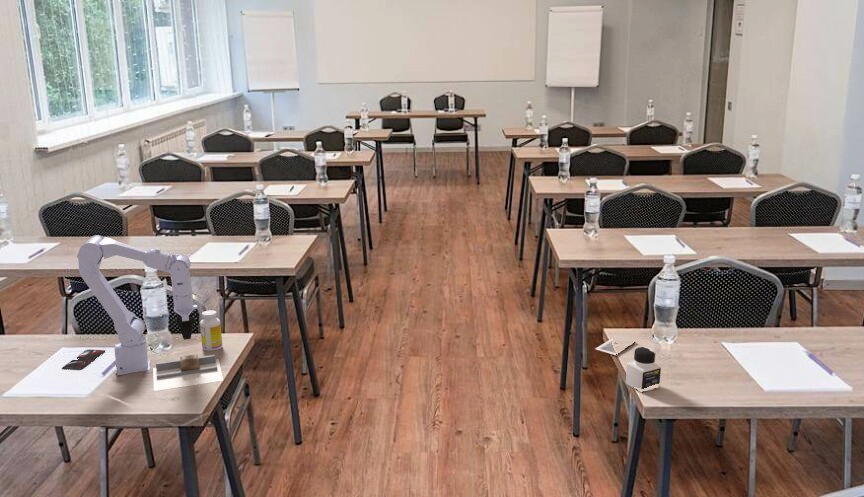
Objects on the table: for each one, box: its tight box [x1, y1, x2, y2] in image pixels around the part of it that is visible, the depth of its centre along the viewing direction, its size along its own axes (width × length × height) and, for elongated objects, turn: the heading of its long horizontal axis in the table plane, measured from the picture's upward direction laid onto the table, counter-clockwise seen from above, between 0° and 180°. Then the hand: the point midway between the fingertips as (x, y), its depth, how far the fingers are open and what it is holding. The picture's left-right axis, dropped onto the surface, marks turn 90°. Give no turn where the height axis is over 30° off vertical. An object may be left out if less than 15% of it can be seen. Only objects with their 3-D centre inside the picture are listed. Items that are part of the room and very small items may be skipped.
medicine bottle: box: [625, 346, 662, 389], centre depth 224 cm, size 7×7×12 cm
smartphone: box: [61, 349, 106, 371], centre depth 244 cm, size 7×1×15 cm
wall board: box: [152, 354, 224, 392], centre depth 232 cm, size 20×17×4 cm
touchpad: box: [595, 337, 618, 356], centre depth 253 cm, size 8×15×2 cm, turn 139°
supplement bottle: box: [199, 309, 223, 351], centre depth 251 cm, size 7×7×13 cm
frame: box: [179, 353, 200, 371], centre depth 235 cm, size 6×4×4 cm
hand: (186, 334), depth 238 cm, fingers open, 7 cm apart
